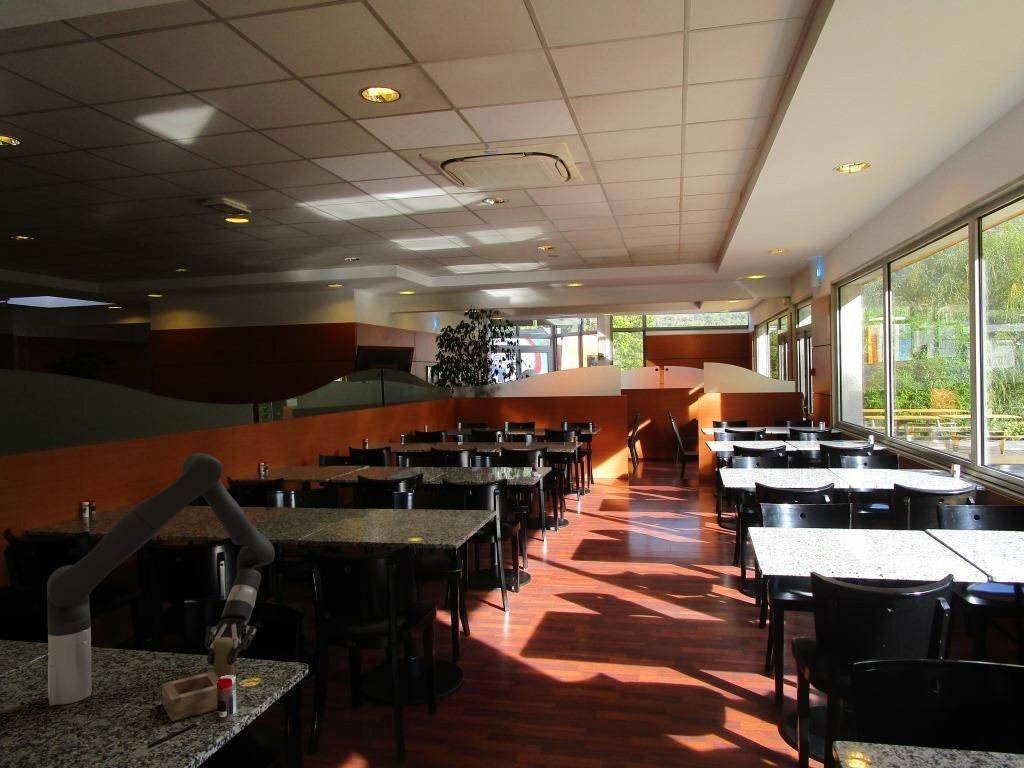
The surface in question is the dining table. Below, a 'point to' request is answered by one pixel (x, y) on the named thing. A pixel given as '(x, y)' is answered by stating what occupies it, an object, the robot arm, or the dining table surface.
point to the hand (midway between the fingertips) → (220, 663)
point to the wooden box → (190, 695)
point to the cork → (223, 657)
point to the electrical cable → (172, 735)
